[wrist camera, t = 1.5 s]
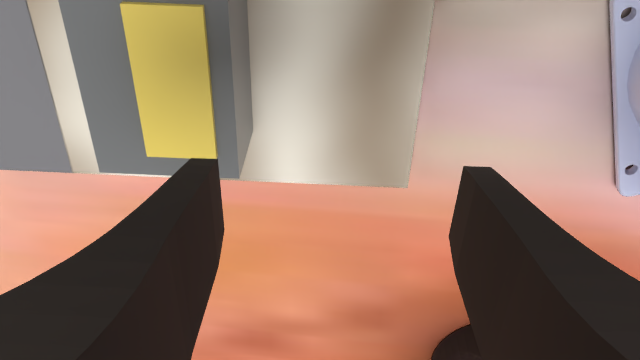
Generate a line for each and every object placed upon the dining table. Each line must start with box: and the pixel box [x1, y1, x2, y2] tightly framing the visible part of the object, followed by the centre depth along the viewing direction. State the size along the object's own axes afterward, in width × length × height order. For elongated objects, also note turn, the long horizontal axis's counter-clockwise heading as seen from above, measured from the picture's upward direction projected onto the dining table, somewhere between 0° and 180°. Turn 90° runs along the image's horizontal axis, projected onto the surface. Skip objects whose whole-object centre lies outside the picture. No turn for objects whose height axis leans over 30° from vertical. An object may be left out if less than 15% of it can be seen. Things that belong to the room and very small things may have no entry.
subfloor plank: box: [26, 0, 435, 188], centre depth 21 cm, size 24×12×1 cm, turn 88°
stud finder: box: [58, 0, 253, 179], centre depth 19 cm, size 5×7×4 cm
